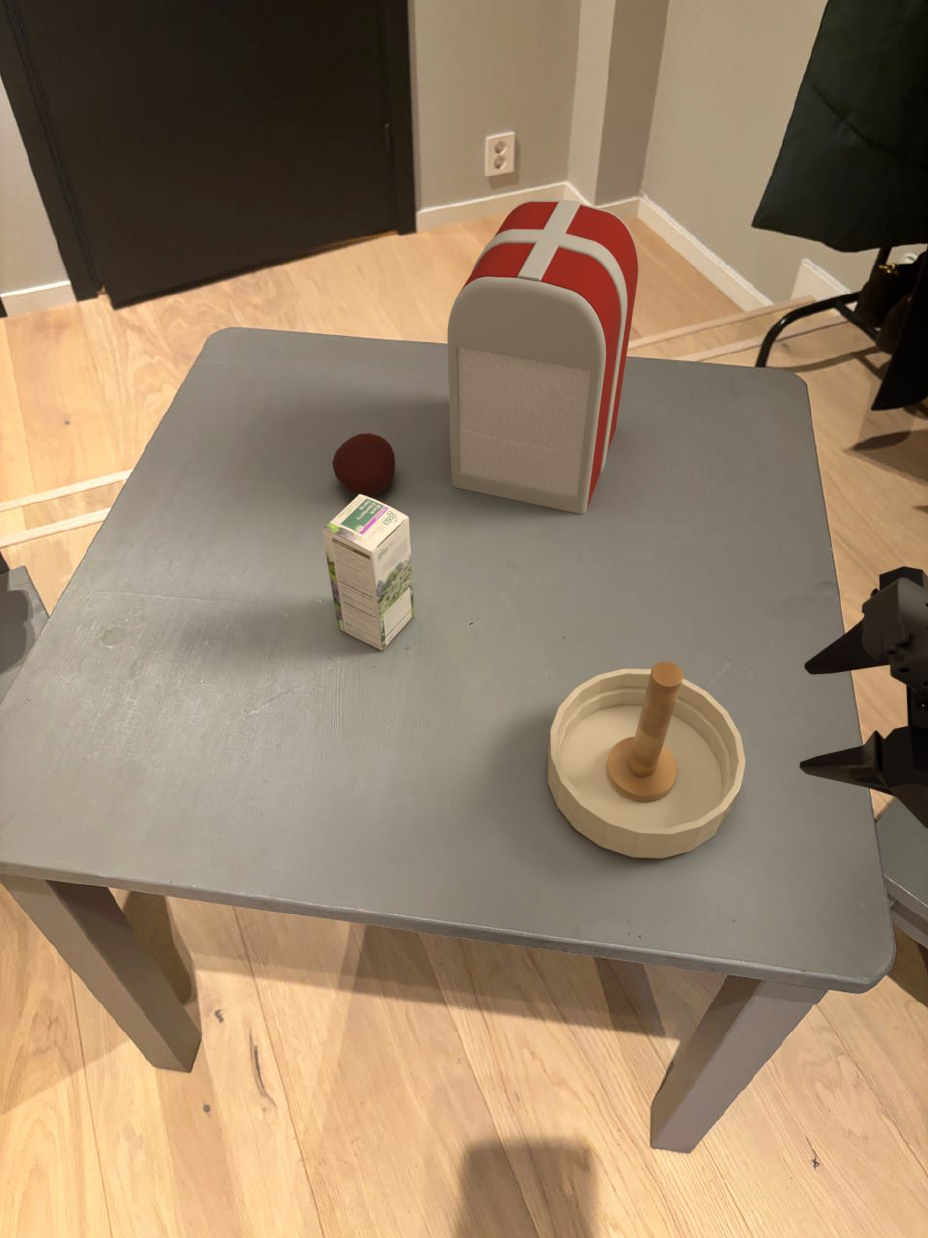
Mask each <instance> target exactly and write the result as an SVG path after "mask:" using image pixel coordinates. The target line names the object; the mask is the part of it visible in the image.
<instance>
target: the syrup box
mask: <svg viewBox="0 0 928 1238" xmlns="http://www.w3.org/2000/svg"><path fill="white" fill-rule="evenodd" d="M321 533H322V539H323V543H324V545H323V546H324V551H325V556H326V563H327V570H328V577H329V582H330V587H331V594H332V599H333V606H334V612H335V613H334V614H335V619H336V626H337V629H339V630H340V631H342V632H344V633H346V634H348V635H349V636H351V637H354V638H355V639H357V640H358V641H361V642H363V643H365V644H367V645H369V646H371V647H373V648H375V649H378V650H379V651H381V652H384V651H385V650H386V649H387V648H388V646H389V645H390V644H391V643H392V642H393V641H394V639H395V638H396V637H397V636H398V635H399V634H400V633H401V632H402V630H403V629H404V628H405V627H406V626H407V625H408V624H409V622H411V620H412V619H413V618H414V617H415V602H414V587H413V586H414V585H413V583H414V582H413V566H412V565H413V563H412V549H411V547H412V546H411V535H410V534H411V533H410V518H409V516H408V515H407V514H405V513H403V512H401V511H399V510H397V509H396V508H393V507H392V506H389V505H387V504H385V503H384V502H381V501H379V500H377V499H374V498H372V497H369V496H367V495H361V494H359V495H357V496H356V497H354V499H353V500H352V501H351V502H349V504H347V505H346V506H345V507H344V508H343V509H342V510H341V511H340V512H339V513H338V514H337V515H336V516H335V517H334V518H332V520H330V522H329V523H327V524H326V525H325V526H324V527H323V528H322V530H321Z"/></svg>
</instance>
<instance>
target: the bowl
mask: <svg viewBox="0 0 928 1238" xmlns="http://www.w3.org/2000/svg"><path fill="white" fill-rule="evenodd" d="M651 670H652V668H651V669H649V668H622V669H617V670H613V671H612V670H611V671H609V672H603V673H600V674H599V673H598V674H597V675H596V676H593V677H592V678H590V679H588V680H587V681H585V682H583V683H581V684H580V685H577V686H576V687H575V688H574V689H573V690H572V691H571V692H570V693H569V694H568V696H567V697H566V698H565V699H564V700H563V701H562V702H561V704H560V705H559V706H558V708H557V711H556V713H555V716H554V719H553V721H552V724H551V727H550V730H549V737H548V747H547V755H546V757H547V758H546V759H547V762H546V763H547V765H546V766H547V783H548V786H549V788H550V791H551V794H552V796H553V800H554V802H555V804H556V807H557V808H558V810H560V812H561V814H562V815H564V817H565V818H566V819H567V821H568V822H569V823H570V824H571V826H572V827H573V828H574V829H575V830H576V831H577V832H578V833H580V834H582V835H583V836H584V837H586V838H587V839H589V840H590V841H592V842H593V843H595V844H596V845H597V846H599V847H601V848H604V849H606V850H608V851H609V850H610V851H612V852H616V853H618V854H621V855H624V856H626V857H627V856H628V857H631V858H641V859H642V858H643V859H644V858H645V859H666V858H669V857H673V856H676V855H680V854H681V855H682V854H684V853H688V852H691V851H693V850H695V849H696V848H698V847H700V846H701V845H703V843H705V842H706V841H708V840H709V839H711V838H713V837H714V836H715V835H716V833H717V832H718V831H719V829H720V828H721V826H722V824H723V823H724V822H725V820H726V819H727V817H728V816H729V814H730V812H731V809H732V808H733V805H734V804H735V801H736V799H737V797H738V794H739V792H740V790H741V788H742V783H743V778H744V773H745V769H746V764H747V763H746V762H747V761H746V756H745V750H744V745H743V739H742V735H741V733H740V731H739V729H738V728H737V726H736V724H735V723H734V720H733V719H732V717H731V716H730V713H729V712H728V710H726V709H725V708H724V707H723V705H721V704H720V703H719V702H718V701H717V700H716V699H715V698H714V697H713V696H712V695H711V694H710V693H709V692H708V691H707V690H704V688H701V687H699V686H697V685H696V684H694V683H693V682H691V681H689V680H688V679H686V678H684V677H683V680H682V683H681V686H680V690H679V693H678V696H677V700H676V703H675V706H674V710H673V713H672V717H671V720H670V723H669V727H668V730H667V733H666V737H665V740H664V743H663V745H664V746H665V747H666V748H667V749H668V750H669V751H670V752H671V753H672V755H673V757H674V759H675V762H676V766H677V774H676V778H675V781H674V784H673V787H672V788H671V790H670V791H669V793H668V794H667V795H665V796H664V797H663V798H661V799H659V800H656V801H652V802H636V801H632V800H630V799H627V798H625V797H624V796H622V795H620V794H619V793H618V792H617V791H616V790H615V789H614V788H613V787H612V785H611V784H610V782H609V780H608V777H607V773H606V765H607V760H608V756H609V753H610V751H611V749H612V748H613V747H614V746H615V745H616V744H617V743H618V742H620V741H621V740H623V739H626V738H629V737H635V734H636V730H637V726H638V722H639V718H640V714H641V710H642V706H643V702H644V698H645V694H646V690H647V686H648V682H649V678H650V674H651Z"/></svg>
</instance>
